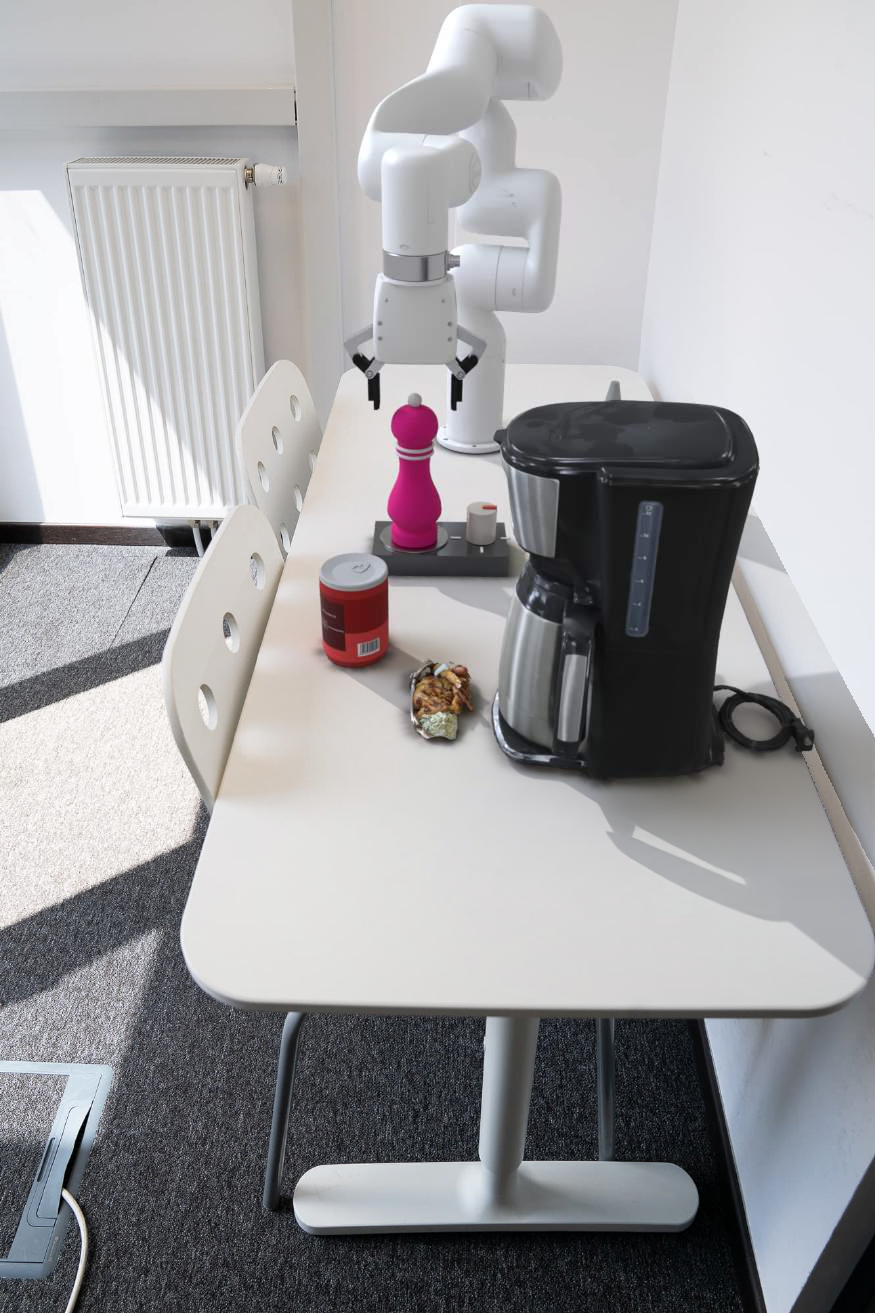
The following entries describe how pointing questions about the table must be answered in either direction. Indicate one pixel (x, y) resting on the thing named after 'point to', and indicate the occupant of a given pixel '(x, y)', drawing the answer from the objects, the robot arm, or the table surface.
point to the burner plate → (438, 544)
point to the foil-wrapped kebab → (439, 698)
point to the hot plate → (448, 554)
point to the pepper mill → (414, 476)
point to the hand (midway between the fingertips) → (415, 406)
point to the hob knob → (481, 523)
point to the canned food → (354, 609)
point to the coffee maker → (625, 588)
